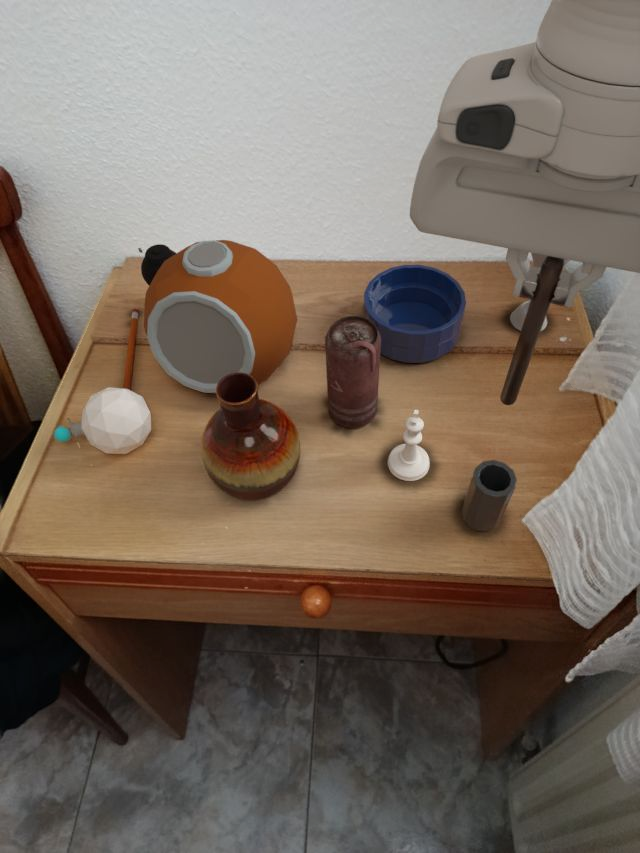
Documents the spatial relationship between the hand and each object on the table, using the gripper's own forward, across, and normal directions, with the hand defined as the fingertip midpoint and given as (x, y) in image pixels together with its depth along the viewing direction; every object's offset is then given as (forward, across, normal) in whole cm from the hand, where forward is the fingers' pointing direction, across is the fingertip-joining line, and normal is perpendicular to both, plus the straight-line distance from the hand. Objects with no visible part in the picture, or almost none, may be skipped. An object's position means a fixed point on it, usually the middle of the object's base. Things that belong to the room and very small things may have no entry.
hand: (542, 296), depth 44 cm
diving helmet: (+30, +36, -10) cm, 47 cm away
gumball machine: (+30, +48, -16) cm, 59 cm away
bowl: (+30, +14, -22) cm, 40 cm away
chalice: (+30, -1, -30) cm, 42 cm away
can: (+30, +17, -6) cm, 35 cm away
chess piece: (+30, +8, -1) cm, 31 cm away
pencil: (+29, +49, -5) cm, 57 cm away
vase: (+30, +25, +6) cm, 39 cm away
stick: (+13, 0, 0) cm, 13 cm away
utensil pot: (+30, -1, +2) cm, 30 cm away
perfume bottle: (+30, +44, +8) cm, 53 cm away
